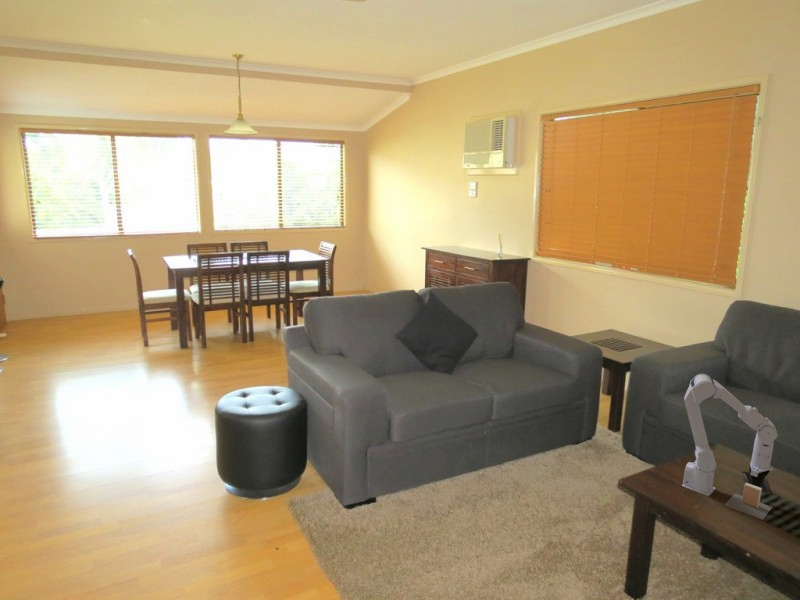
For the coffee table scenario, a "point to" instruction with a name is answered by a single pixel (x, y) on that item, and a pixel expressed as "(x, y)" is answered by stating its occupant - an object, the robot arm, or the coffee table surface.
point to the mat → (748, 507)
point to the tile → (751, 495)
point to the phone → (748, 479)
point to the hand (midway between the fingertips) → (756, 487)
